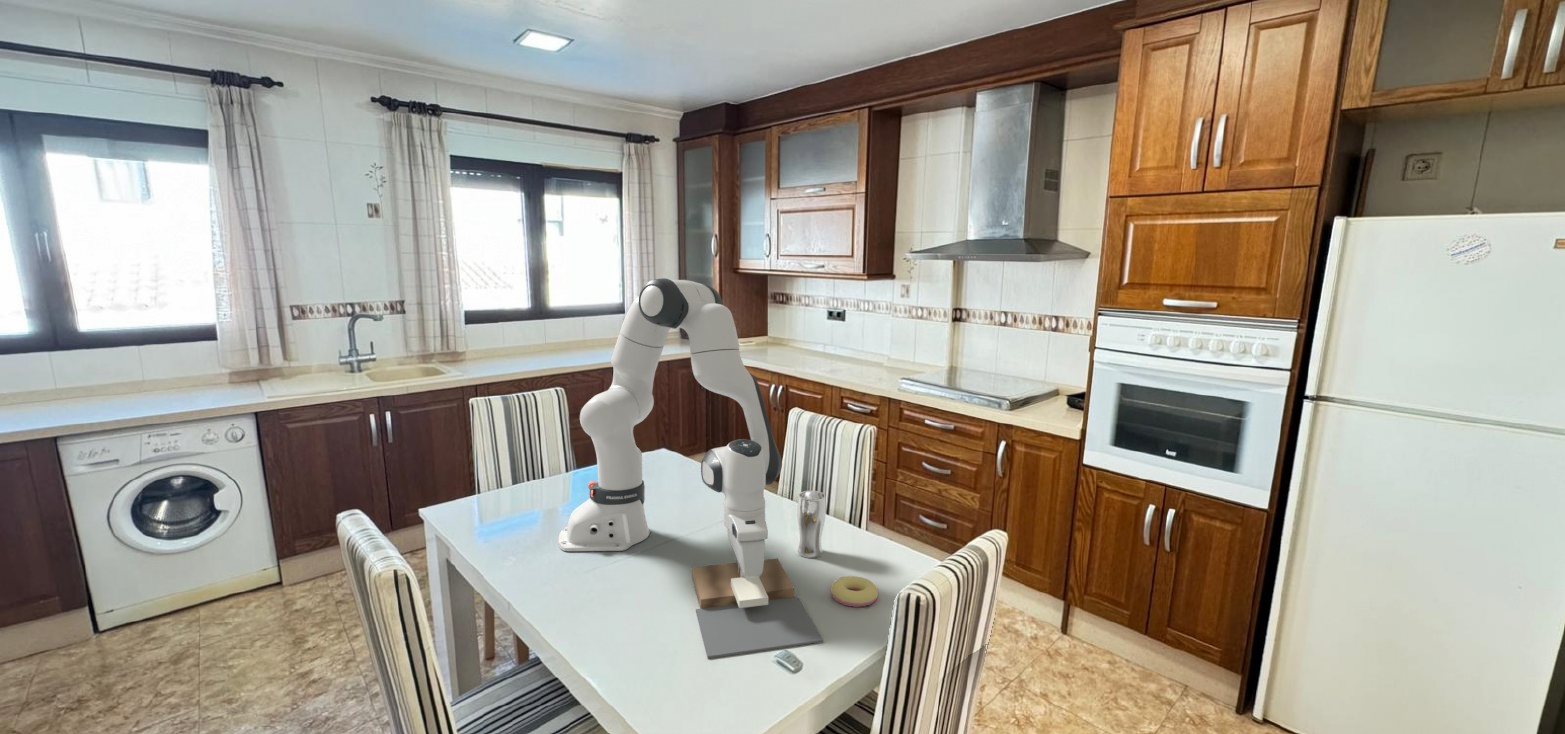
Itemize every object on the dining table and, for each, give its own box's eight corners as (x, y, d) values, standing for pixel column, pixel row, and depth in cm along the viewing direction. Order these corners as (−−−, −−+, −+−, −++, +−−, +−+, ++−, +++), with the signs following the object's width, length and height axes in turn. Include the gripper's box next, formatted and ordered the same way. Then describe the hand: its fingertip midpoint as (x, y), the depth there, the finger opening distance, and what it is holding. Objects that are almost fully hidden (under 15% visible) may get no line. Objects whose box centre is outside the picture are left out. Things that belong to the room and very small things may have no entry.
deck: (700, 610, 130) (700, 599, 129) (692, 577, 143) (692, 567, 143) (794, 599, 135) (794, 588, 135) (777, 568, 148) (777, 558, 148)
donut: (834, 594, 142) (830, 611, 133) (832, 574, 142) (828, 589, 133) (879, 592, 140) (878, 609, 131) (877, 572, 140) (875, 587, 131)
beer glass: (791, 554, 155) (792, 496, 153) (803, 544, 161) (805, 488, 159) (816, 561, 152) (819, 502, 150) (828, 550, 158) (830, 493, 156)
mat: (707, 658, 114) (707, 656, 114) (695, 611, 129) (695, 608, 129) (822, 642, 120) (822, 639, 120) (798, 598, 135) (798, 596, 135)
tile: (739, 608, 127) (739, 600, 126) (730, 585, 135) (730, 578, 135) (768, 604, 128) (768, 597, 128) (758, 582, 137) (758, 575, 136)
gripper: (721, 499, 144) (720, 556, 146) (739, 537, 124) (738, 602, 127) (748, 497, 146) (747, 553, 148) (770, 534, 126) (768, 598, 128)
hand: (743, 576), depth 137 cm, fingers closed
